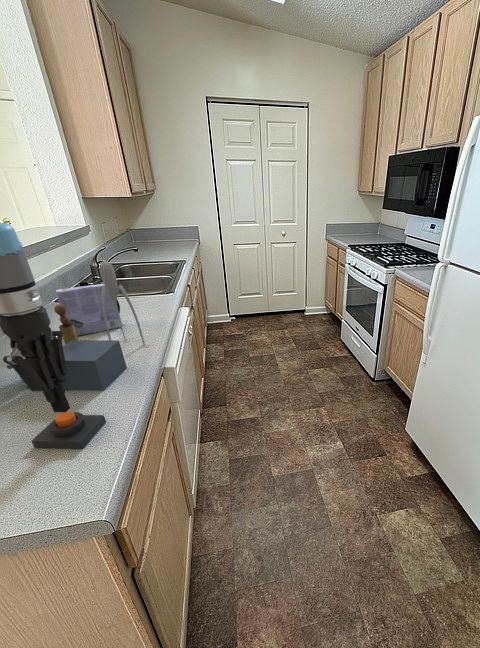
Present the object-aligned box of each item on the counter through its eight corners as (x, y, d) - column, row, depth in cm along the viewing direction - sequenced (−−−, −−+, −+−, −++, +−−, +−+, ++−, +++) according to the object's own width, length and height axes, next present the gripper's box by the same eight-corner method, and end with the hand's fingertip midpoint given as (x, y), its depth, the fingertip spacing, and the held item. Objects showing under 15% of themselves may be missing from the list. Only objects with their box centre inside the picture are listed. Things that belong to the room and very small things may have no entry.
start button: (54, 427, 73) (51, 421, 73) (64, 417, 77) (62, 411, 76) (69, 427, 73) (67, 421, 73) (80, 417, 77) (77, 411, 76)
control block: (34, 448, 73) (27, 434, 71) (62, 421, 81) (56, 408, 79) (83, 449, 72) (77, 435, 71) (106, 422, 80) (101, 409, 79)
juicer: (139, 351, 114) (117, 263, 100) (112, 352, 113) (86, 264, 100) (149, 338, 123) (130, 256, 110) (124, 339, 122) (101, 257, 109)
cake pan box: (124, 322, 137) (112, 280, 129) (126, 326, 133) (114, 283, 125) (69, 333, 128) (54, 289, 120) (70, 338, 124) (53, 292, 116)
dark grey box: (53, 390, 93) (41, 360, 89) (81, 367, 104) (72, 340, 100) (104, 390, 93) (94, 360, 88) (127, 367, 104) (119, 340, 100)
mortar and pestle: (91, 350, 115) (74, 301, 107) (83, 359, 109) (65, 307, 101) (70, 352, 114) (52, 302, 106) (61, 361, 108) (41, 309, 100)
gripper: (11, 323, 57) (58, 430, 67) (62, 298, 69) (96, 393, 79) (-31, 323, 57) (22, 429, 68) (27, 298, 69) (65, 392, 79)
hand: (62, 409), depth 73 cm, fingers closed
